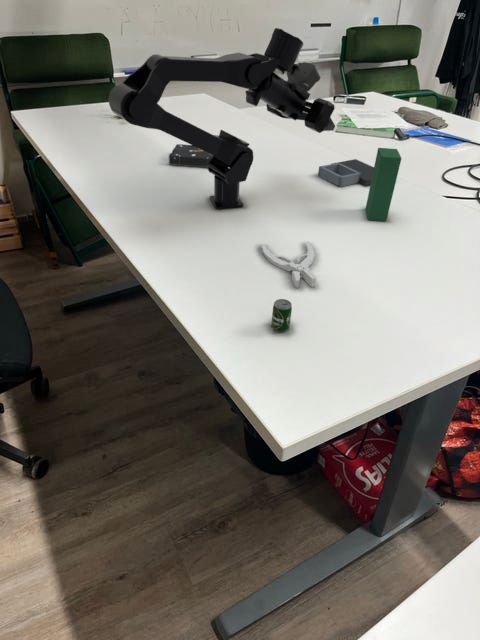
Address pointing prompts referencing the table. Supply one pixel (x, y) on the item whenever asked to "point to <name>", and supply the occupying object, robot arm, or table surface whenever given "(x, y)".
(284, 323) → the beer can
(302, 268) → the pliers
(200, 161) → the disk drive
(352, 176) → the compartment tray
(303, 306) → the table surface
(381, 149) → the green rectangular block
